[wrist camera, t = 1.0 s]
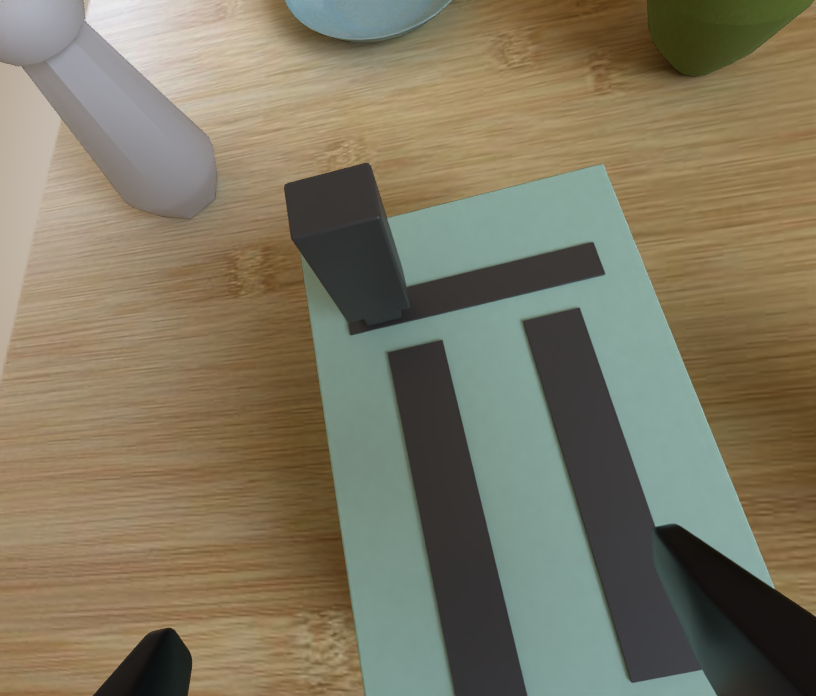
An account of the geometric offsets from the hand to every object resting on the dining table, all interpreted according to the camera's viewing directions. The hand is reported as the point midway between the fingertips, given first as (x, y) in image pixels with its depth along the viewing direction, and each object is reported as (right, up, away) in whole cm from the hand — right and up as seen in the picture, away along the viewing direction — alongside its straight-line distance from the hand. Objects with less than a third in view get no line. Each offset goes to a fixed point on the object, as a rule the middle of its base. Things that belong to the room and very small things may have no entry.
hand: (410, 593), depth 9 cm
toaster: (+4, 0, +14) cm, 14 cm away
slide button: (-1, +6, +7) cm, 9 cm away
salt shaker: (-13, +14, +21) cm, 29 cm away
